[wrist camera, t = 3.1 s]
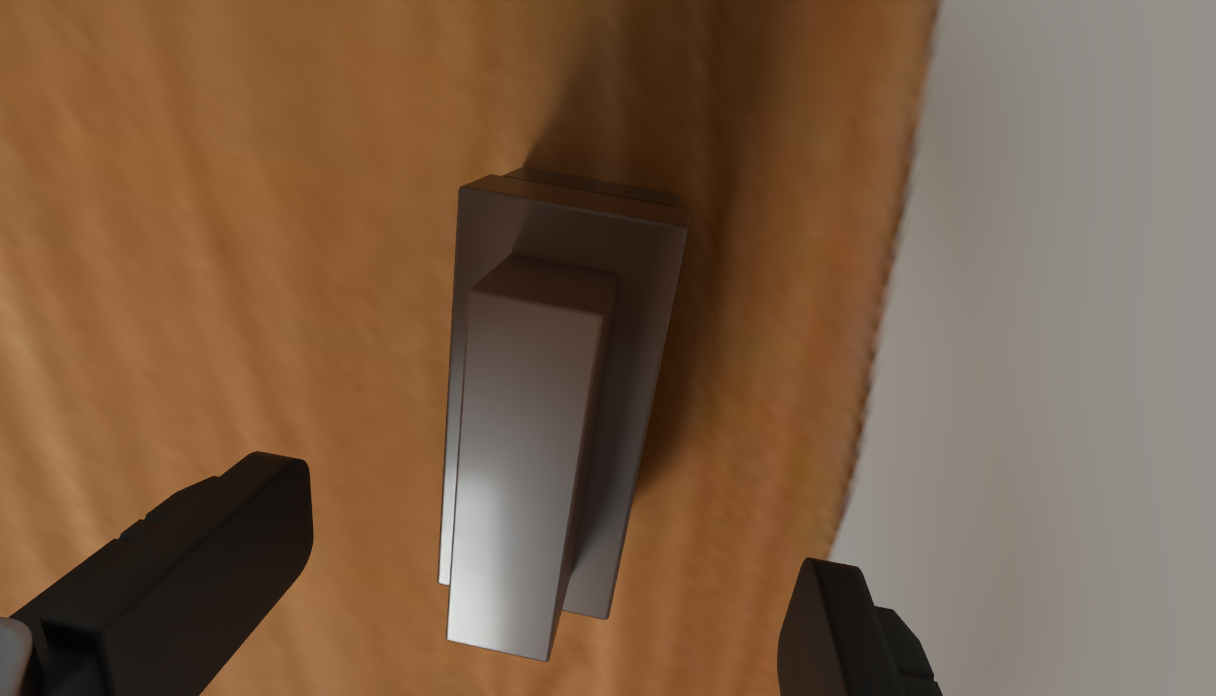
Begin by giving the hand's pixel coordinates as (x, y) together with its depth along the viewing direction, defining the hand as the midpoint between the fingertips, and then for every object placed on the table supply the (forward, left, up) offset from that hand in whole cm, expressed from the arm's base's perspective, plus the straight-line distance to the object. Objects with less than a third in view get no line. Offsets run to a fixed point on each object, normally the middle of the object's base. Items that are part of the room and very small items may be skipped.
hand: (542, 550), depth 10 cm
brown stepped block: (0, -1, -6) cm, 6 cm away
